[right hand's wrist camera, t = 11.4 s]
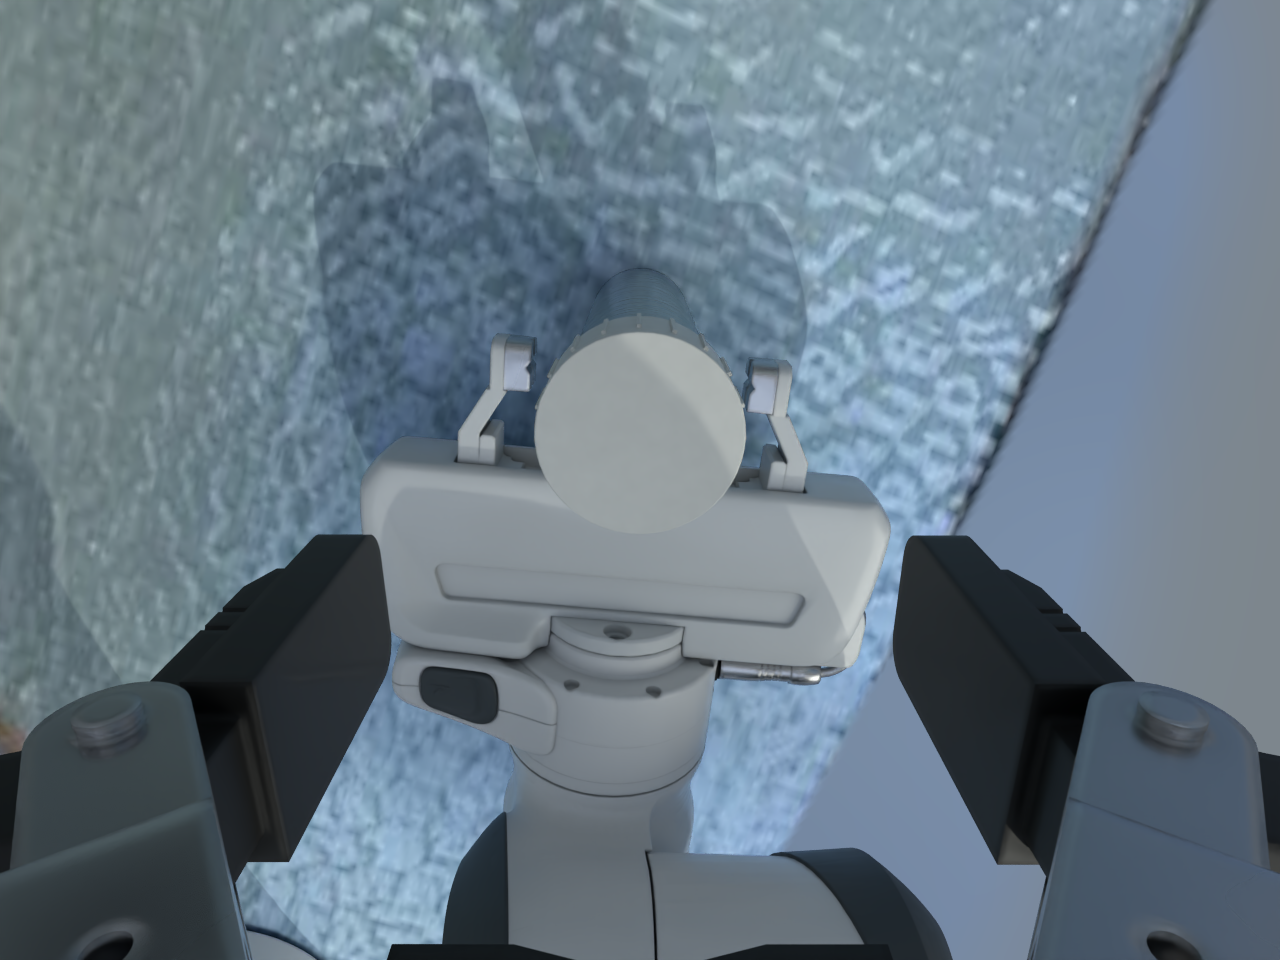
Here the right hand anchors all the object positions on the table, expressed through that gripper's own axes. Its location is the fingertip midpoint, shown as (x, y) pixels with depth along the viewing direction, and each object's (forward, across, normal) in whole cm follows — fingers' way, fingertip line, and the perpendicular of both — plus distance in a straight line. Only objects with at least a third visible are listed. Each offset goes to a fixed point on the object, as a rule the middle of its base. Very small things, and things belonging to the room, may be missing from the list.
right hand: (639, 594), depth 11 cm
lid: (+8, 0, 0) cm, 8 cm away
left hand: (+19, 0, 0) cm, 19 cm away
